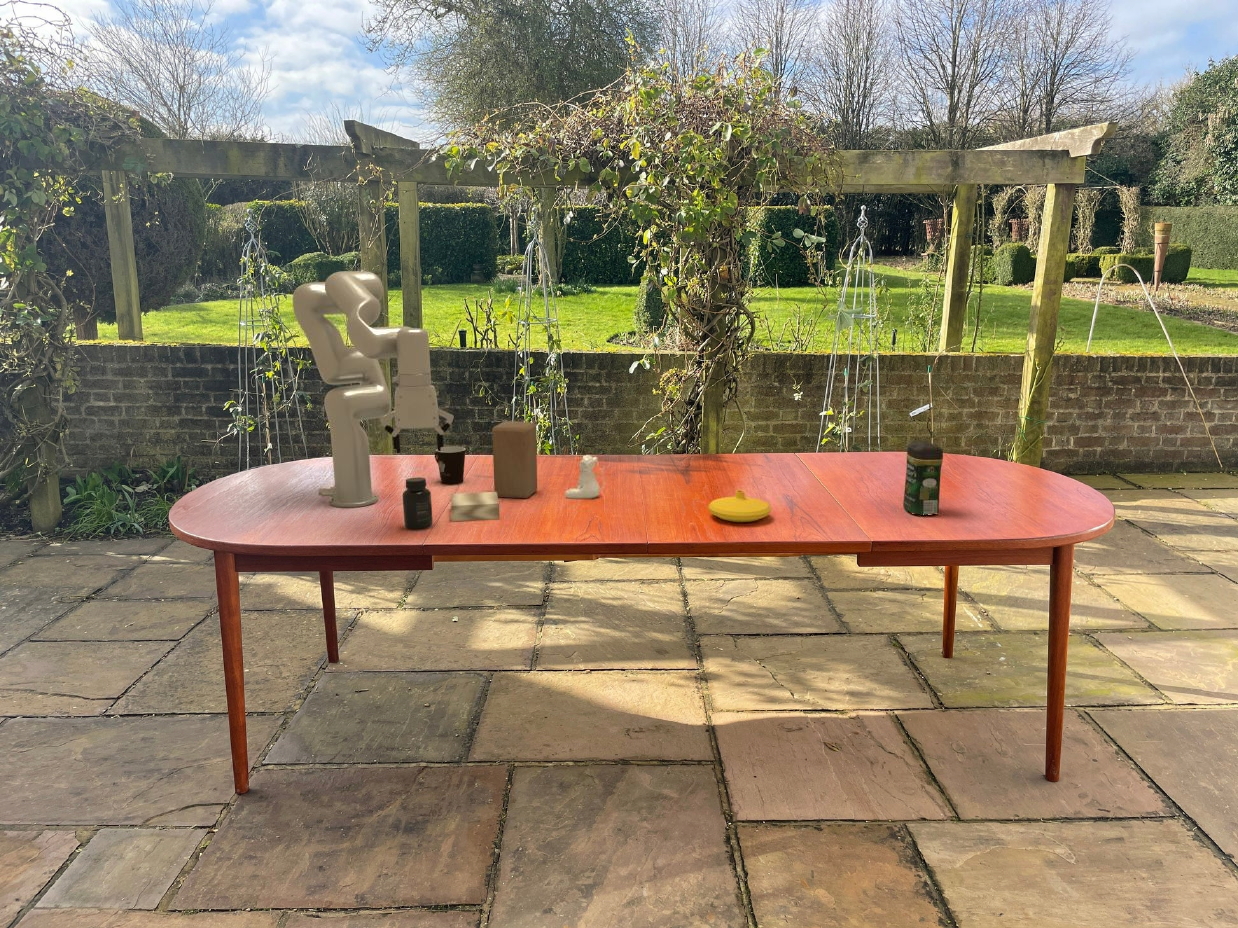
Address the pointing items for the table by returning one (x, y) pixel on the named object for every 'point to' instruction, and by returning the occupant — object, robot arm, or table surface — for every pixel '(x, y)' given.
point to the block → (515, 459)
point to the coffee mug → (451, 464)
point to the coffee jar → (923, 478)
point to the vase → (739, 508)
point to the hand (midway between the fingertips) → (419, 451)
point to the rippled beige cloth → (474, 506)
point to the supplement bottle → (417, 504)
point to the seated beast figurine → (585, 481)
